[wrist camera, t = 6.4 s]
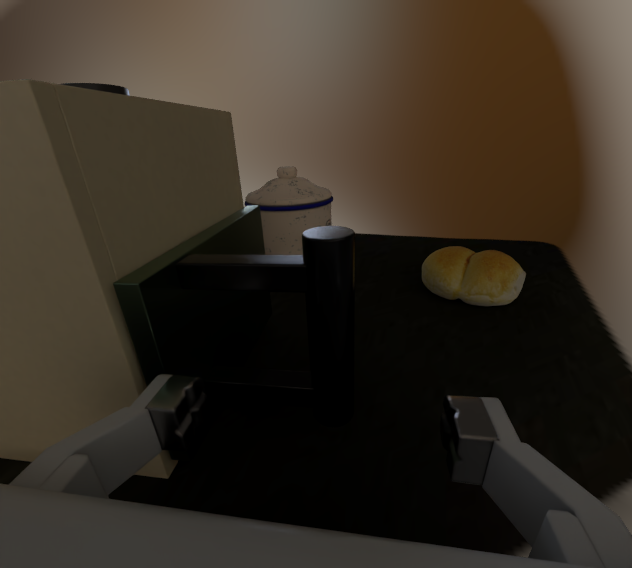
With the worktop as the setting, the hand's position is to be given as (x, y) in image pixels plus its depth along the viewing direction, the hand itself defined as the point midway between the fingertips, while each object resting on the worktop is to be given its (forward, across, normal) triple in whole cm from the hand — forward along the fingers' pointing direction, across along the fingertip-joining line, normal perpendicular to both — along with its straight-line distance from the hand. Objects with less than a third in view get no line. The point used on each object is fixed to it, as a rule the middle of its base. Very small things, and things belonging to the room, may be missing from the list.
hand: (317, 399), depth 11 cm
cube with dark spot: (+8, -14, -6) cm, 17 cm away
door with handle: (+8, -9, -5) cm, 13 cm away
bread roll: (+23, +12, -6) cm, 26 cm away
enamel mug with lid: (+27, -6, -6) cm, 28 cm away
